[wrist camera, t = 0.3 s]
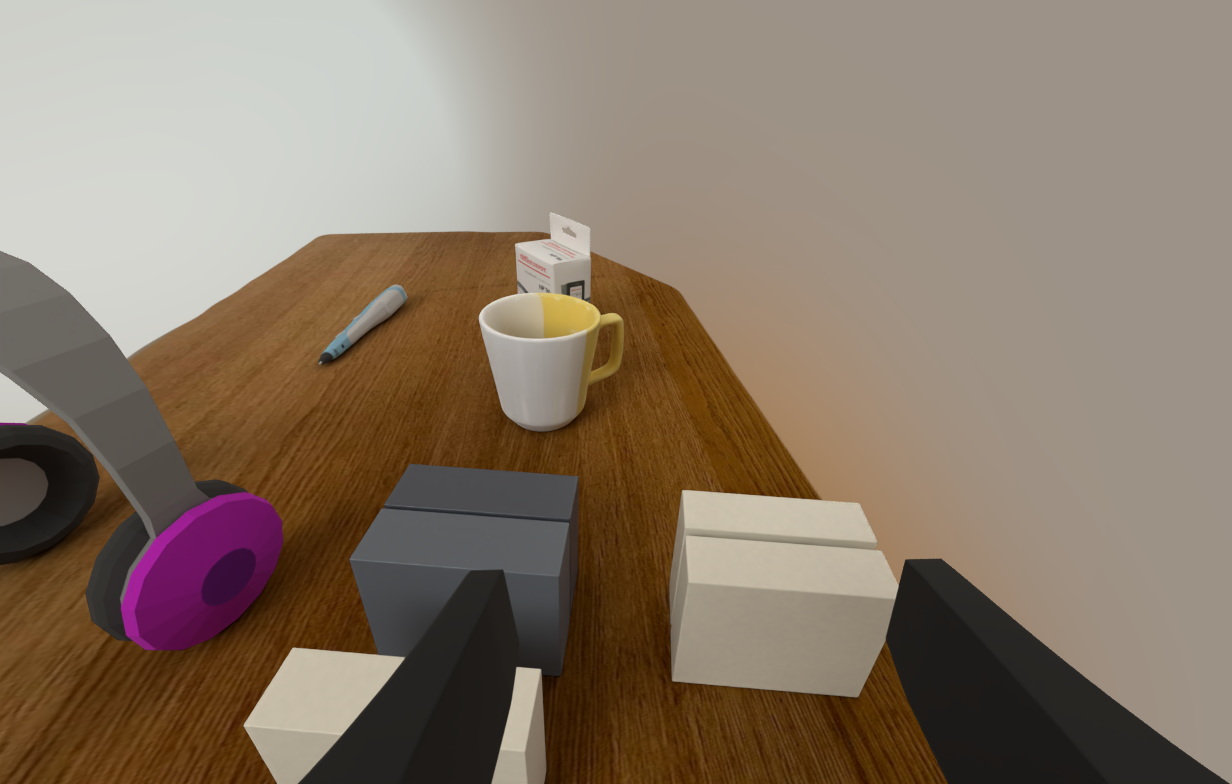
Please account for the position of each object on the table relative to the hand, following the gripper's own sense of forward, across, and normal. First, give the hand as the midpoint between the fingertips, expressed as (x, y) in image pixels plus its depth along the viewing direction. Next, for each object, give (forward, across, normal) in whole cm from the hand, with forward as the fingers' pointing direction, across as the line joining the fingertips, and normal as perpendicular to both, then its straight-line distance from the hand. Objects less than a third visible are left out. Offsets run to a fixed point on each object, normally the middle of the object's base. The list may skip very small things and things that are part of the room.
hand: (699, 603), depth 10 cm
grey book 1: (+17, +11, +18) cm, 27 cm away
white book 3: (+13, -5, +20) cm, 24 cm away
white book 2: (+16, -5, +20) cm, 26 cm away
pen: (+53, +34, +14) cm, 65 cm away
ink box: (+52, +12, +16) cm, 55 cm away
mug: (+38, +9, +17) cm, 42 cm away
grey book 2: (+13, +11, +18) cm, 25 cm away
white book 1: (+6, +11, +18) cm, 22 cm away
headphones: (+16, +34, +16) cm, 41 cm away
